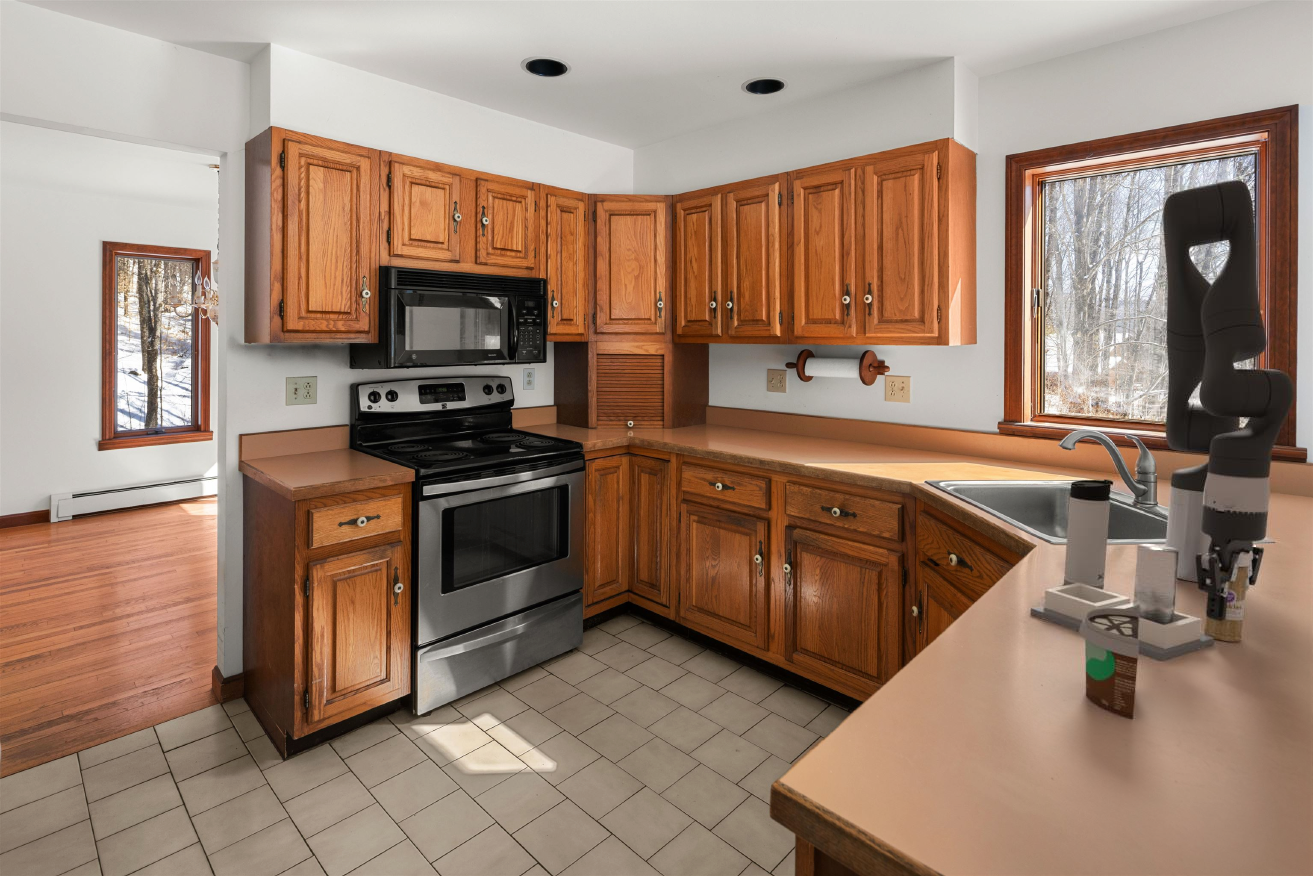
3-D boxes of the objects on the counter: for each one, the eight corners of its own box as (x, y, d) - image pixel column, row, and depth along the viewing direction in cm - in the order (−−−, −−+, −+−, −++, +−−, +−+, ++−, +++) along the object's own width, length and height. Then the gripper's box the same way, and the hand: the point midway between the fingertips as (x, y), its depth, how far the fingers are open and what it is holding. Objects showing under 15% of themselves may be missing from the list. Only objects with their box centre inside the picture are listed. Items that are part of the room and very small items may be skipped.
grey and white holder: (1081, 602, 122) (1082, 579, 121) (1213, 644, 104) (1215, 618, 103) (1030, 614, 116) (1031, 590, 115) (1161, 660, 98) (1163, 633, 98)
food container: (1078, 672, 95) (1083, 600, 93) (1134, 684, 91) (1140, 609, 90) (1070, 709, 84) (1076, 629, 83) (1132, 724, 81) (1139, 641, 80)
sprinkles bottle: (1209, 640, 105) (1217, 552, 104) (1199, 629, 109) (1206, 544, 108) (1247, 644, 103) (1256, 555, 102) (1235, 633, 108) (1243, 547, 106)
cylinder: (1143, 625, 108) (1150, 542, 107) (1179, 636, 104) (1187, 550, 103) (1123, 630, 106) (1130, 546, 105) (1159, 642, 102) (1166, 554, 100)
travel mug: (1111, 593, 126) (1119, 483, 124) (1071, 591, 127) (1078, 482, 125) (1097, 582, 132) (1104, 477, 130) (1058, 580, 133) (1065, 476, 131)
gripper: (1231, 496, 111) (1222, 601, 112) (1179, 504, 104) (1169, 615, 106) (1291, 505, 104) (1279, 617, 106) (1238, 514, 98) (1227, 633, 100)
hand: (1224, 615), depth 106 cm, fingers closed on sprinkles bottle, 4 cm apart
